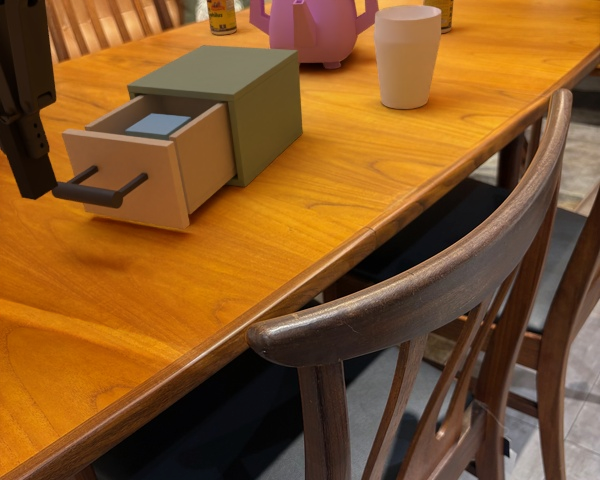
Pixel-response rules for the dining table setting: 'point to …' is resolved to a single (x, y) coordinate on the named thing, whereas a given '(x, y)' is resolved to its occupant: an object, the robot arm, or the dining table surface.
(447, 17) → the supplement bottle
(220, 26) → the supplement bottle
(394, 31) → the cup
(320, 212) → the dining table surface
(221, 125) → the drawer
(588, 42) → the dining table surface
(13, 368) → the dining table surface
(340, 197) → the dining table surface
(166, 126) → the block
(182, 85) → the cabinet
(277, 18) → the teapot
